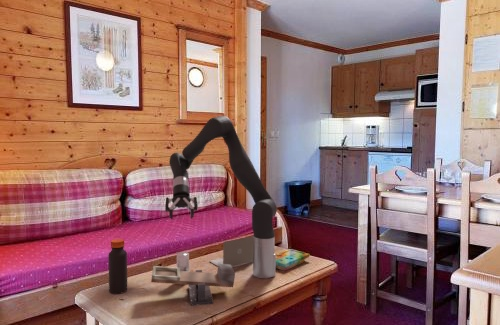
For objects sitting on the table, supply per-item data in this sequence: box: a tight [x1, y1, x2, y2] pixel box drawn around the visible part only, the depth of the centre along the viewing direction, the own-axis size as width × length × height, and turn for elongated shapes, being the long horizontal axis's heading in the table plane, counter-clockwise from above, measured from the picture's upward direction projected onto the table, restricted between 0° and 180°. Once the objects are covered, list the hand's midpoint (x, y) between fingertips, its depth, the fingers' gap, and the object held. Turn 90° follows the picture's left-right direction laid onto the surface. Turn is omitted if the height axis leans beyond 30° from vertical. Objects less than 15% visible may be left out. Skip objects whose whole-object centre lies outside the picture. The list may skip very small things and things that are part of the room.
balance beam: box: [150, 264, 236, 288], centre depth 142 cm, size 30×10×5 cm, turn 102°
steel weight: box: [176, 251, 190, 286], centre depth 155 cm, size 5×5×12 cm
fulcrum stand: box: [188, 269, 214, 307], centre depth 143 cm, size 8×16×7 cm, turn 12°
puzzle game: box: [274, 248, 310, 272], centre depth 180 cm, size 12×5×20 cm
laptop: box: [209, 235, 254, 268], centre depth 180 cm, size 18×12×13 cm
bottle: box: [107, 238, 128, 295], centre depth 146 cm, size 7×7×20 cm
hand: (181, 218), depth 165 cm, fingers open, 8 cm apart
